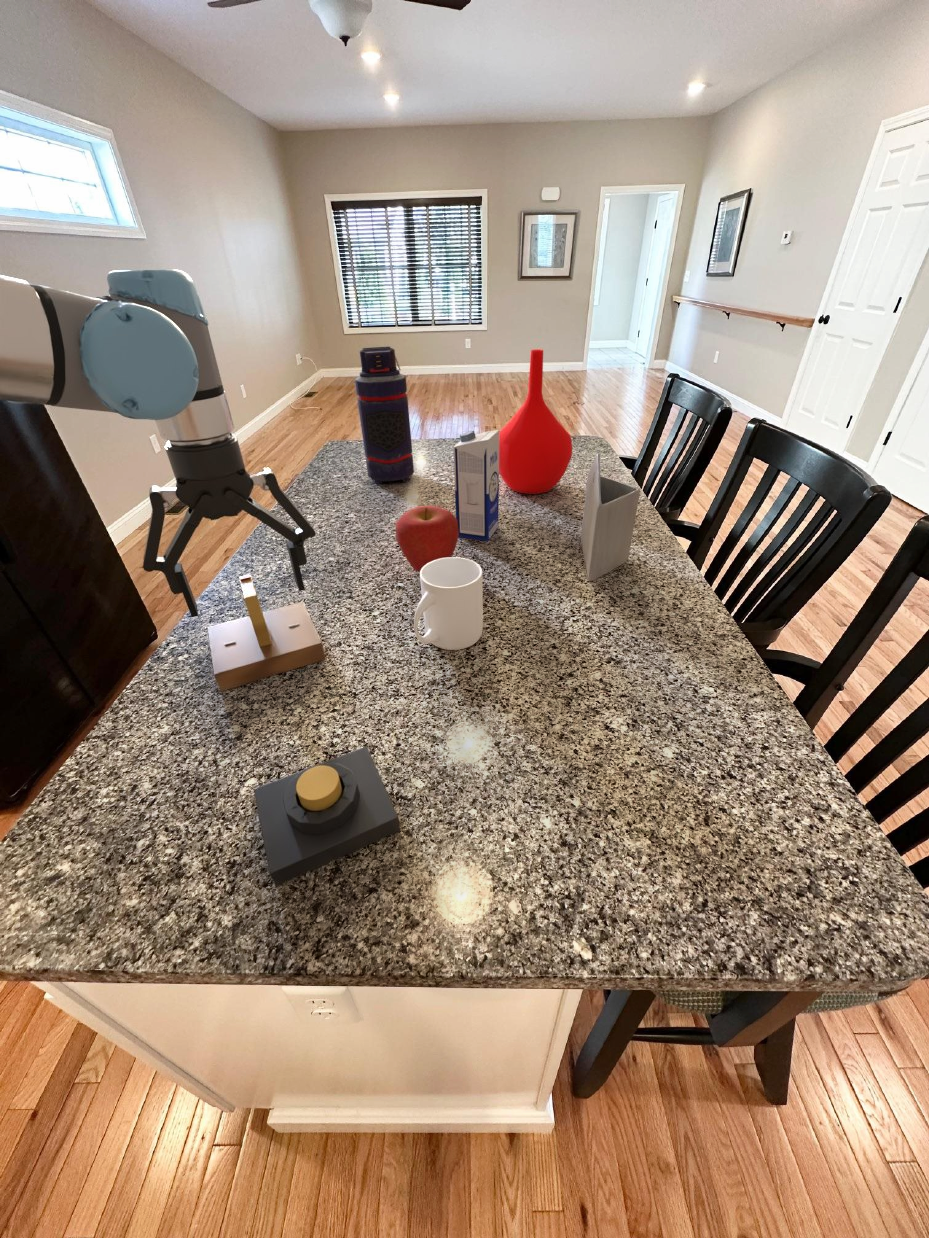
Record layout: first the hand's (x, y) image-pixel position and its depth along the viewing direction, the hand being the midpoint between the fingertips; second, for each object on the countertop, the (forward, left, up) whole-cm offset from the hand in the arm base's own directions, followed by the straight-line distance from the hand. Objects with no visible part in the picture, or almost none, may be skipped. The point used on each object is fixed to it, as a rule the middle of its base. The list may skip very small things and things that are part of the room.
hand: (249, 598), depth 69 cm
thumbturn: (0, 0, -6) cm, 6 cm away
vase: (+68, +36, -9) cm, 78 cm away
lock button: (+1, -31, -6) cm, 31 cm away
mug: (+24, -10, -9) cm, 28 cm away
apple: (+30, +10, -9) cm, 33 cm away
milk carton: (+45, +20, -9) cm, 50 cm away
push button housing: (+1, -31, -9) cm, 32 cm away
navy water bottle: (+41, +61, -9) cm, 74 cm away
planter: (+60, -2, -9) cm, 61 cm away
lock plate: (0, 0, -9) cm, 9 cm away
